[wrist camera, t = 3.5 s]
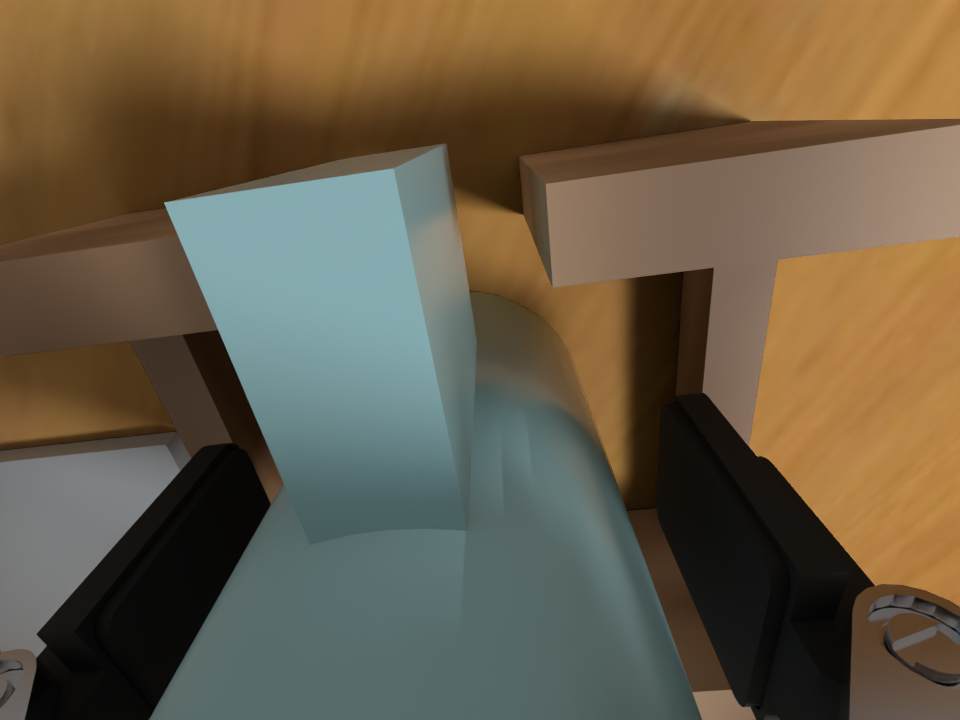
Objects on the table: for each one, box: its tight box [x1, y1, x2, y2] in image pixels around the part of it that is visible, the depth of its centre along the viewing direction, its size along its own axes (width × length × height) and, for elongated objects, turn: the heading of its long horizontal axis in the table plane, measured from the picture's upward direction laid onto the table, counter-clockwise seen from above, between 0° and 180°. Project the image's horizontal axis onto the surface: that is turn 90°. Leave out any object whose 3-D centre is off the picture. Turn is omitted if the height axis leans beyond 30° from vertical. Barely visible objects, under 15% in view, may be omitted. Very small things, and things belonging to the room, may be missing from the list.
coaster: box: [0, 431, 191, 657], centre depth 15 cm, size 10×10×1 cm
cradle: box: [0, 119, 960, 720], centre depth 10 cm, size 13×11×5 cm
